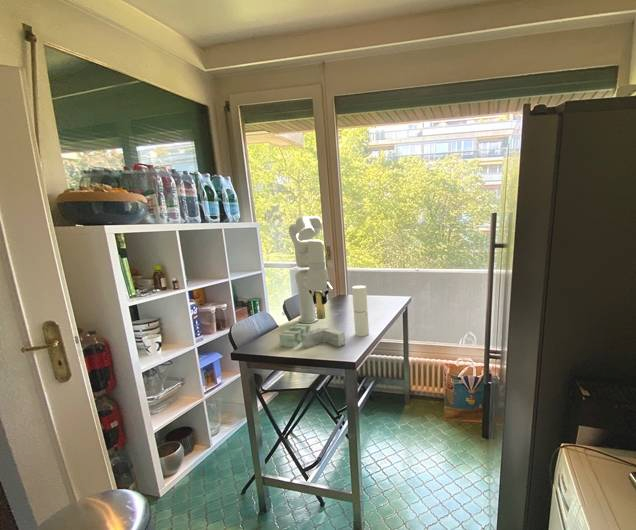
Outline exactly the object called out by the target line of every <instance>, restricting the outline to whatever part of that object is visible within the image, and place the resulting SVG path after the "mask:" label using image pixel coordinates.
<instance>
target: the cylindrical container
mask: <svg viewBox="0 0 636 530" xmlns="http://www.w3.org/2000/svg"><path fill="white" fill-rule="evenodd" d="M351 291H352V293H351V294H352V303H353V304H352V305H353V318H354V319H353V320H354V321H353V322H354V333H355V334H354V335H355V336H357V337H367V336H368V335H370V328H369V327H370V325H369V313H368V297H367V286H366V285H353V286H352V287H351Z"/></svg>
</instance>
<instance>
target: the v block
mask: <svg viewBox="0 0 636 530" xmlns="http://www.w3.org/2000/svg"><path fill="white" fill-rule="evenodd" d="M345 337H346V336H345V332H344V331H341V330H338V329H334V328H330V327H318V328H315V329H313V330H311V331H309V332H306V333H303V334H301V341H302V342H301V346H302V347H303V348H305V347H306V348H305V349H308V348H311V347H313V346H316V345H319V344H321V343H328V344H330V345H332V346H335V347H339V348H340V347H342V346H344V345H346V338H345Z"/></svg>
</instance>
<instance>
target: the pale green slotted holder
mask: <svg viewBox="0 0 636 530" xmlns="http://www.w3.org/2000/svg"><path fill="white" fill-rule="evenodd" d="M309 331H312V330H311V323H296V324H294V325H292V326H291V327H289V328H288V329H286V330H284V331H283V332H281V333H280V334H279V335H278V336H279V343H280V344H279V345H280V347H283V346H285V348H293V347H295V348H296V347H298V344H299V345H300V344H302V341H301V334H303V333H306V332H309Z"/></svg>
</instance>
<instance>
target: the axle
mask: <svg viewBox="0 0 636 530" xmlns="http://www.w3.org/2000/svg"><path fill="white" fill-rule="evenodd" d="M322 296H323V294H322V290H316V292H315V297H316V304H315V310H316V311H317V314H316V316H317V319H319V320H324V319H326V309H325V308H326V306H325V304H322Z"/></svg>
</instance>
